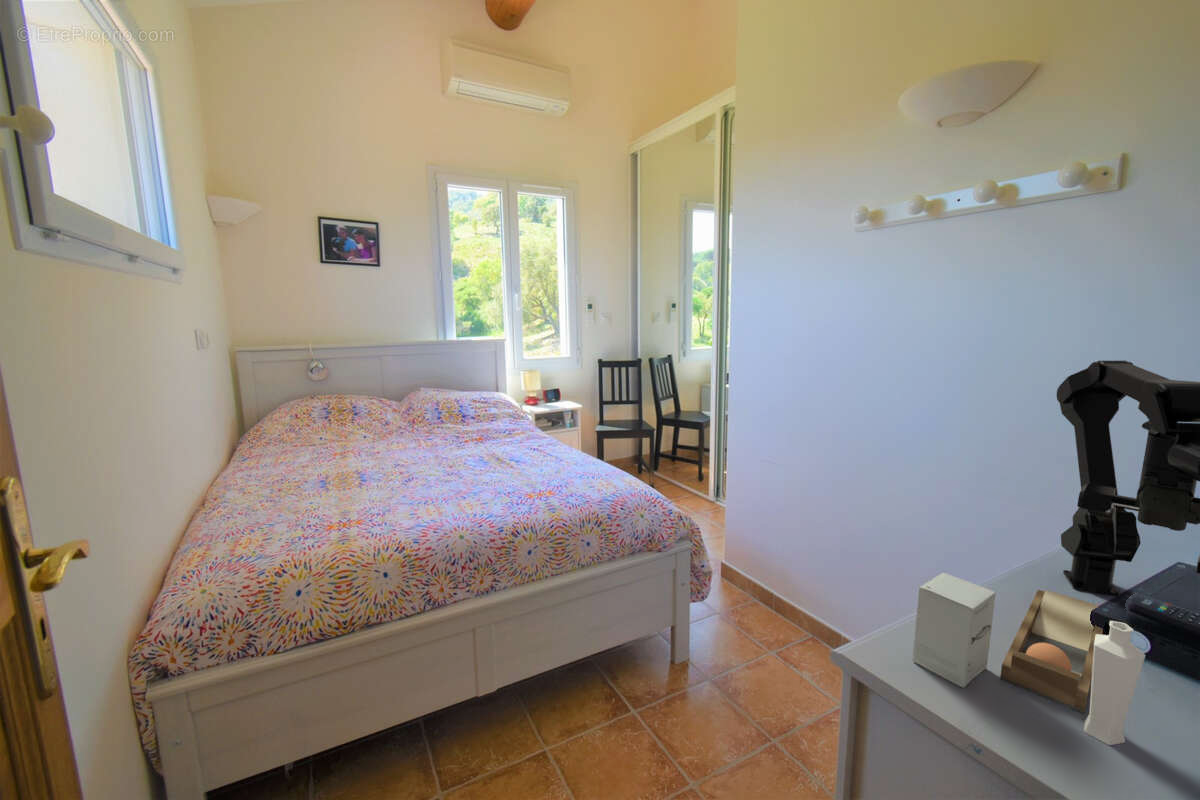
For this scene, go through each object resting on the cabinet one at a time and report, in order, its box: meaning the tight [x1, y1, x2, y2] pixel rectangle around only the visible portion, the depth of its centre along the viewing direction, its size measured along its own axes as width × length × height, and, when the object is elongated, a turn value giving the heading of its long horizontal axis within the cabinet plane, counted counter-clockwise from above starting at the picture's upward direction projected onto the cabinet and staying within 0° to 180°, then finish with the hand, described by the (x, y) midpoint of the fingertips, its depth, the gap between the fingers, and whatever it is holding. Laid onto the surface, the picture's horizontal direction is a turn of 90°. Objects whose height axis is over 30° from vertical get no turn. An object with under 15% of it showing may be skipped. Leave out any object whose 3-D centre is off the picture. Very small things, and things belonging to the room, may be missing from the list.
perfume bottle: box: [1083, 620, 1146, 746], centre depth 65 cm, size 5×4×15 cm
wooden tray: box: [999, 589, 1104, 714], centre depth 81 cm, size 27×9×5 cm, turn 132°
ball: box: [1026, 643, 1071, 671], centre depth 75 cm, size 5×5×5 cm
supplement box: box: [912, 572, 996, 689], centre depth 78 cm, size 7×7×13 cm
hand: (1153, 561), depth 82 cm, fingers open, 9 cm apart
